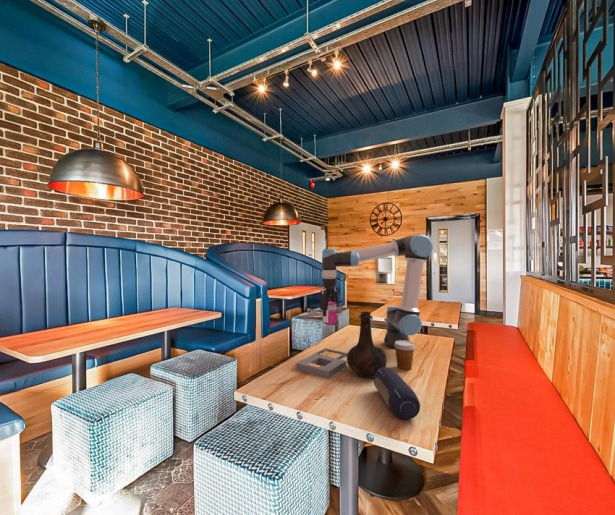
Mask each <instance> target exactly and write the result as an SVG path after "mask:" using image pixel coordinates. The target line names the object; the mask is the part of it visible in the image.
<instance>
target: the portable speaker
mask: <svg viewBox="0 0 615 515" xmlns="http://www.w3.org/2000/svg"><path fill="white" fill-rule="evenodd" d="M373 384H374V387H375V388H376V390H377V391H378V393H379V394H380V397H381V398H382V399H383V401H384V402H385V404H386V405H387V407H388V408H389V410H390V411H391V412H392V413H393V414H394V416H396V417H397V418H399V419H403V420H411V419H414V418H416V417H417V416H418V414H419V413H420V410H421V404H420V403H421V402H420V399H419V397H418V396H417V394H416V393H415V391H414V390H413V389H412V388H411V387H410V385H408V383H407V382H406V381H405V380H404V379H403V378H402V377H401V376H400V375H399V374H398V373H397V371H395V370H394V369H393V368H391V367H388V366H386V367H383V368H380V369H379V370H378V371H377V372H376V374H375V376H374V377H373Z"/></svg>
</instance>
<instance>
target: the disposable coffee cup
mask: <svg viewBox="0 0 615 515" xmlns="http://www.w3.org/2000/svg"><path fill="white" fill-rule="evenodd" d="M394 346H395V348H394V350H395V356H396V357H395V360H396V366H397V369H399V370H401V371H406V372H407V371H412V367H413V366H412V365H413V360H414V359H413V358H414V351H415V348H416V346H415V343H414V342H412V341H411V340H410V341H405V340H399V341H396V342H395V344H394Z"/></svg>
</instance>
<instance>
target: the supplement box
mask: <svg viewBox="0 0 615 515" xmlns="http://www.w3.org/2000/svg"><path fill="white" fill-rule="evenodd" d="M337 308H338V307H337V306H336V303H335V302H332V301H331V300H329V302H328V307H327V310H328V323H326V322H323V321H322V323H323V324H325V325H326V326H335V325H337V324H338V320H337V319H338V313H337V312H338V311H337Z"/></svg>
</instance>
